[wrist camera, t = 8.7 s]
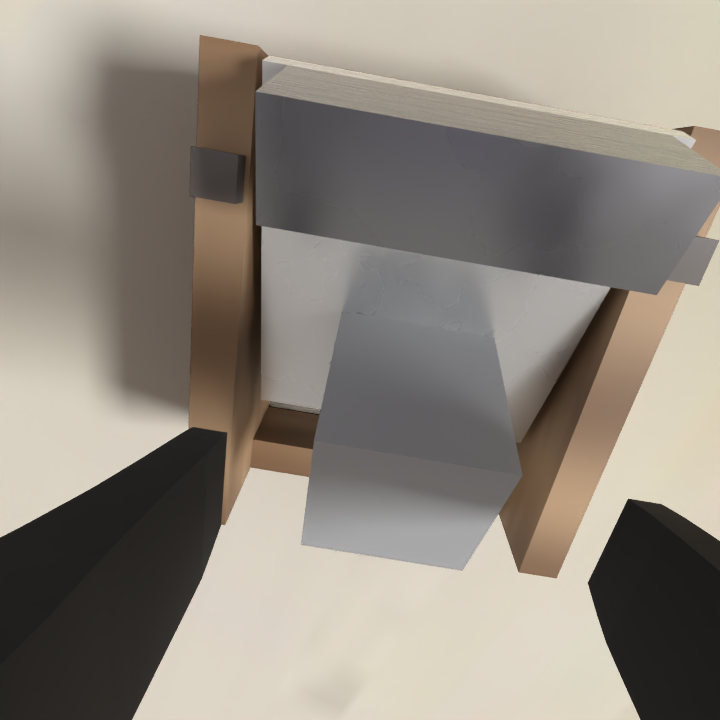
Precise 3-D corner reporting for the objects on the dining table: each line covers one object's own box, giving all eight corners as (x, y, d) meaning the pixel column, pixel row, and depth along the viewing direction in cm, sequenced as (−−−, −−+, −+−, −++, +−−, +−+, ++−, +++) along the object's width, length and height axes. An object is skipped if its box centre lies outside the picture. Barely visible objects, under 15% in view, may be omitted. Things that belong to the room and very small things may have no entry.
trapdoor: (269, 55, 9) (223, 85, 7) (682, 131, 10) (765, 183, 7) (265, 386, 16) (239, 459, 13) (517, 429, 16) (534, 507, 14)
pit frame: (263, 81, 15) (188, 26, 9) (624, 147, 15) (772, 134, 9) (237, 426, 19) (177, 532, 14) (511, 472, 20) (563, 594, 14)
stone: (326, 415, 15) (300, 544, 12) (342, 311, 13) (314, 440, 9) (452, 436, 15) (462, 570, 12) (494, 337, 13) (523, 475, 9)
